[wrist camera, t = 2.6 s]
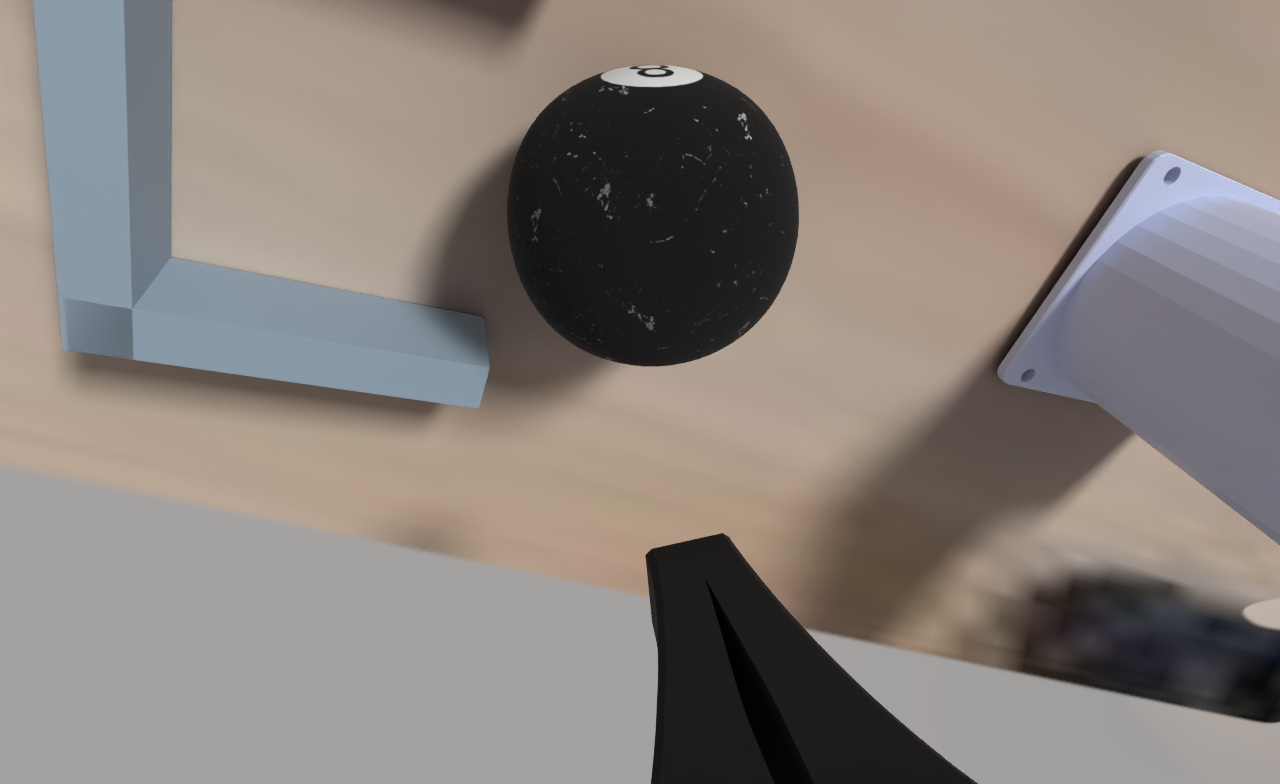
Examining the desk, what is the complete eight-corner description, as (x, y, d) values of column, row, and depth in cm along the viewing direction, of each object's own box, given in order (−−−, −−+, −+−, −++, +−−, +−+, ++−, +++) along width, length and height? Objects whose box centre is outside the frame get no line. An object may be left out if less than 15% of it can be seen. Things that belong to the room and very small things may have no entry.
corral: (600, -139, 13) (628, -146, 11) (474, 355, 19) (479, 408, 17) (80, -379, 10) (-6, -444, 8) (109, 293, 16) (62, 349, 14)
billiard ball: (513, 298, 18) (538, 440, 14) (481, 47, 15) (501, 118, 10) (729, 274, 19) (823, 397, 15) (747, 36, 16) (878, 94, 11)
